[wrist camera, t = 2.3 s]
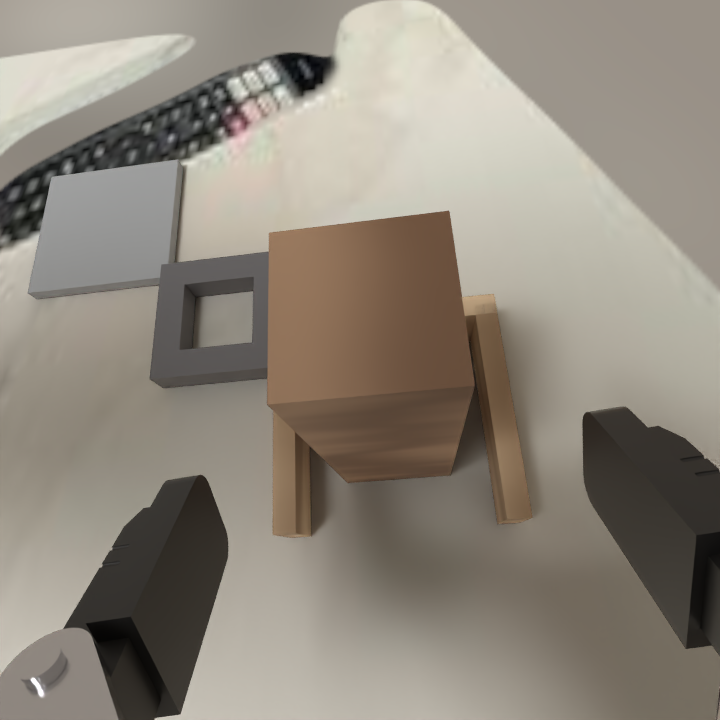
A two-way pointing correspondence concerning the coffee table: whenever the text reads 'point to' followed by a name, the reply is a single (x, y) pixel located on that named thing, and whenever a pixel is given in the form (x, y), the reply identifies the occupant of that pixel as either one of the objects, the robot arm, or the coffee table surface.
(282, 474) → the wooden u-shaped bracket
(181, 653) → the robot arm
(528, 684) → the coffee table surface
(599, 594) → the coffee table surface
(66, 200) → the grey pad
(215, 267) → the grey square frame
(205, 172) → the coffee table surface
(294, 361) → the walnut block
